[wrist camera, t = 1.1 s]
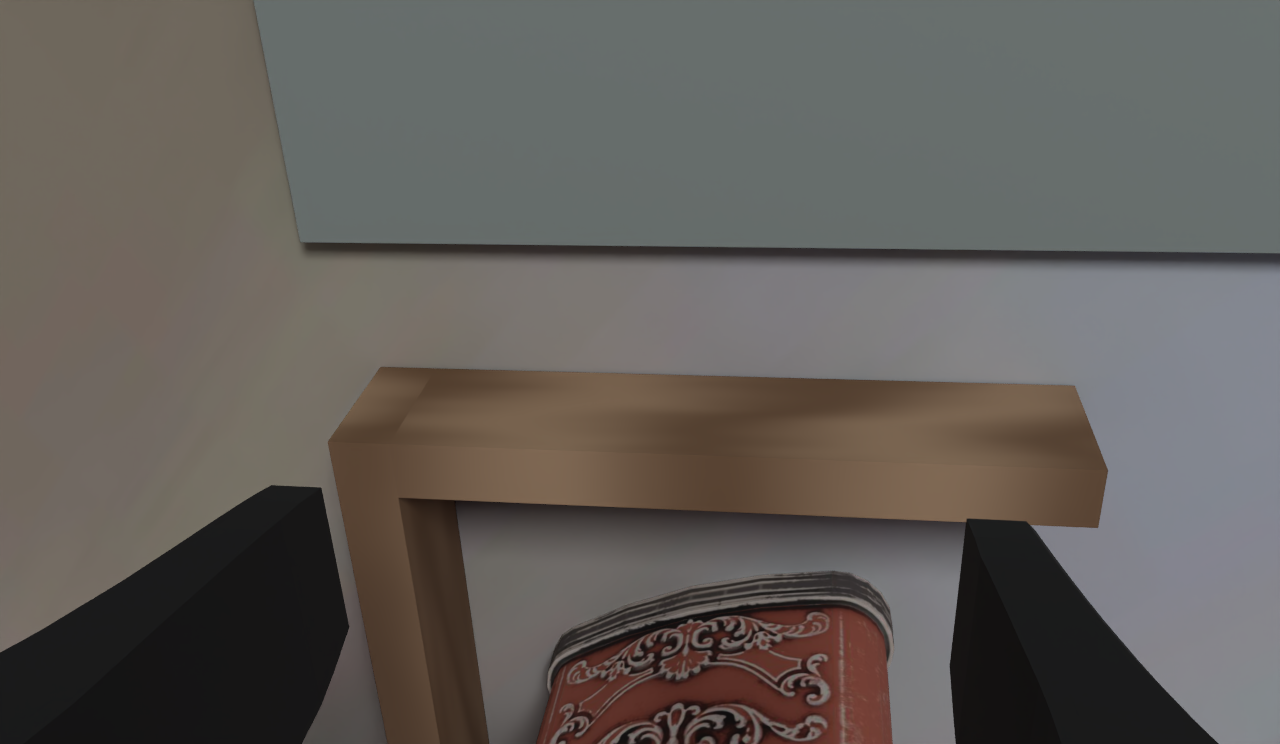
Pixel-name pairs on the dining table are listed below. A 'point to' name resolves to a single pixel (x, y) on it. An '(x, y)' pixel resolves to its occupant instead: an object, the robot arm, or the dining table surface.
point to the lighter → (729, 666)
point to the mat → (782, 122)
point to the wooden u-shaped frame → (661, 481)
